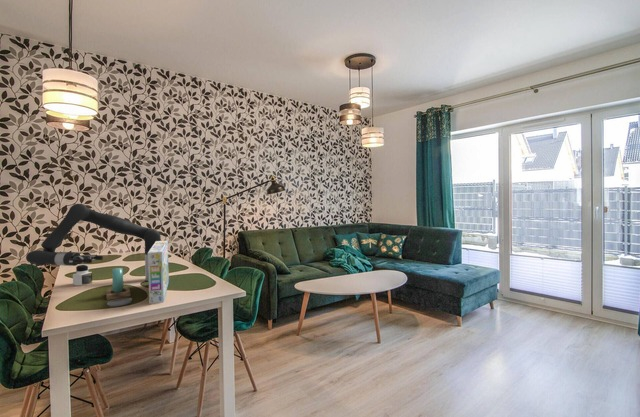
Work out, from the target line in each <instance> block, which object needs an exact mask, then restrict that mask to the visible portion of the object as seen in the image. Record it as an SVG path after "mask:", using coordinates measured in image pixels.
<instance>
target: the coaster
mask: <svg viewBox="0 0 640 417" xmlns="http://www.w3.org/2000/svg"><path fill="white" fill-rule="evenodd" d="M132 302H133V298H131V297H123V298H116V299H110V300H108V301H107V303H106V304H107V306H108V307H112V308H116V307H123V306H127V305H130V304H131V303H132Z"/></svg>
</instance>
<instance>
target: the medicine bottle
mask: <svg viewBox="0 0 640 417" xmlns="http://www.w3.org/2000/svg"><path fill="white" fill-rule="evenodd" d="M75 270H76V272H75V273H73V274H72V285H73V286H77V287H80V286H81V287H83V286H87V285H89V284H92V283H93V272H92V271H89V265H88V264H78V265H76V267H75Z"/></svg>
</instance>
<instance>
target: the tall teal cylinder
mask: <svg viewBox="0 0 640 417" xmlns="http://www.w3.org/2000/svg"><path fill="white" fill-rule="evenodd" d="M111 274H112V275H111V276H112V279H111V280H112V289H113V293H120V292H123V288H124V268H122V267H115V268H112V270H111Z"/></svg>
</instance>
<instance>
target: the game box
mask: <svg viewBox="0 0 640 417" xmlns="http://www.w3.org/2000/svg"><path fill="white" fill-rule="evenodd" d="M168 243H169V242H168V240H161V241H156V242H155V243H154V245H153V246H152V248H151V249H150V250H149V252H148V277H149V281H148V304H149V305H152V304H153V305H154V304H162V303H163V304H164V302H165V299H166V298H165V297H166V294H167V291H168V286H169V283H170V274H169V273H170V271H169V247H168V246H169V244H168Z"/></svg>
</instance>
